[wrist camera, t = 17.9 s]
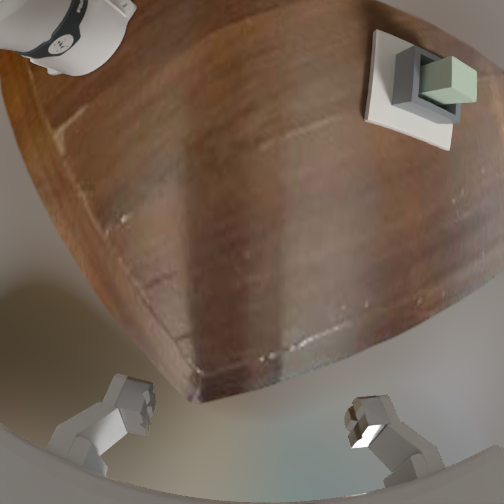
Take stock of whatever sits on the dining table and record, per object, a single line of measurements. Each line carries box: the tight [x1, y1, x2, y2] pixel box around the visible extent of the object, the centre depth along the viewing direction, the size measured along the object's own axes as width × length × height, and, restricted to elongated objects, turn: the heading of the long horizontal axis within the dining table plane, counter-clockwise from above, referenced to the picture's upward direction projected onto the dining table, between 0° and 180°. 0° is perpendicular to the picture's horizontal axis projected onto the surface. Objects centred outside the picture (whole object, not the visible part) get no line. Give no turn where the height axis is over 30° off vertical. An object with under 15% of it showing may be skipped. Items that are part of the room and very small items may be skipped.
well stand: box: [364, 29, 461, 150], centre depth 30 cm, size 16×16×8 cm
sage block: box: [418, 56, 477, 105], centre depth 26 cm, size 4×4×12 cm
